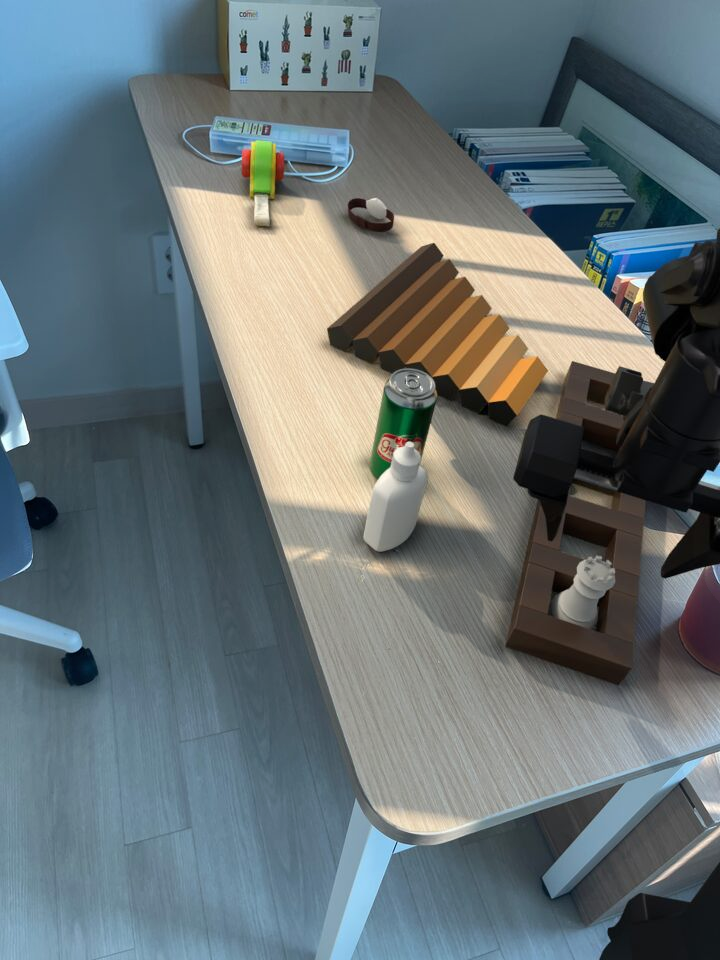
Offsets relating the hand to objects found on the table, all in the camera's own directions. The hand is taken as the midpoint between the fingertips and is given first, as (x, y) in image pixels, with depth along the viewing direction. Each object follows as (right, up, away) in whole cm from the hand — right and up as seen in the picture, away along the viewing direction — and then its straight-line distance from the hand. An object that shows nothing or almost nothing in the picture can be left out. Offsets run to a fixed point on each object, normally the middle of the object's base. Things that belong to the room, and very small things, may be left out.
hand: (606, 555), depth 61 cm
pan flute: (-7, +24, +36) cm, 44 cm away
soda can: (-16, +7, +17) cm, 25 cm away
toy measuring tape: (-35, +49, +54) cm, 81 cm away
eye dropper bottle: (-17, +1, +12) cm, 21 cm away
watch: (-19, +44, +52) cm, 71 cm away
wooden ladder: (+4, +3, +17) cm, 18 cm away
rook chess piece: (-1, -7, +7) cm, 10 cm away
